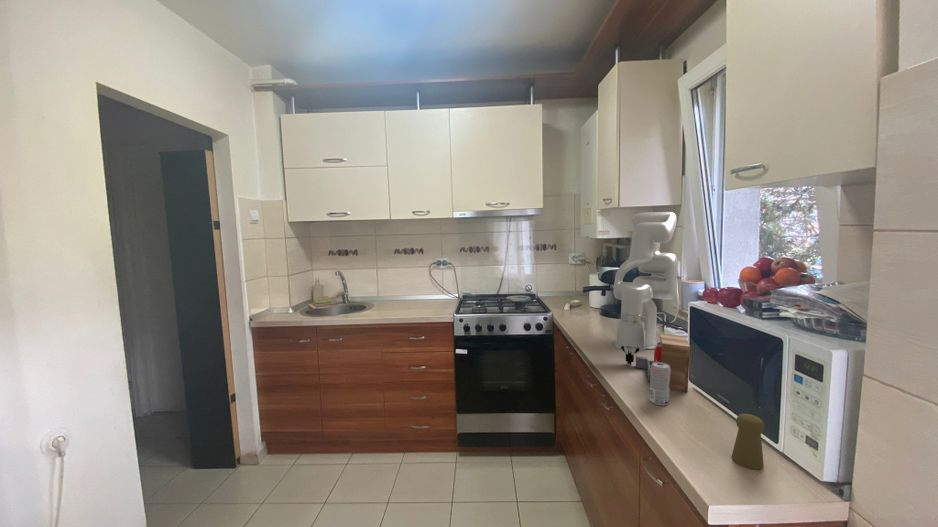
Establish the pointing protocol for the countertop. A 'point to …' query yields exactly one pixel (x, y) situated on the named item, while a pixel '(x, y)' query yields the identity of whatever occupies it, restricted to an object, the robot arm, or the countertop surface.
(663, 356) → the wooden crate
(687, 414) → the countertop surface
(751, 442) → the cork
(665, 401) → the energy drink
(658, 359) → the soda can
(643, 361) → the tray
